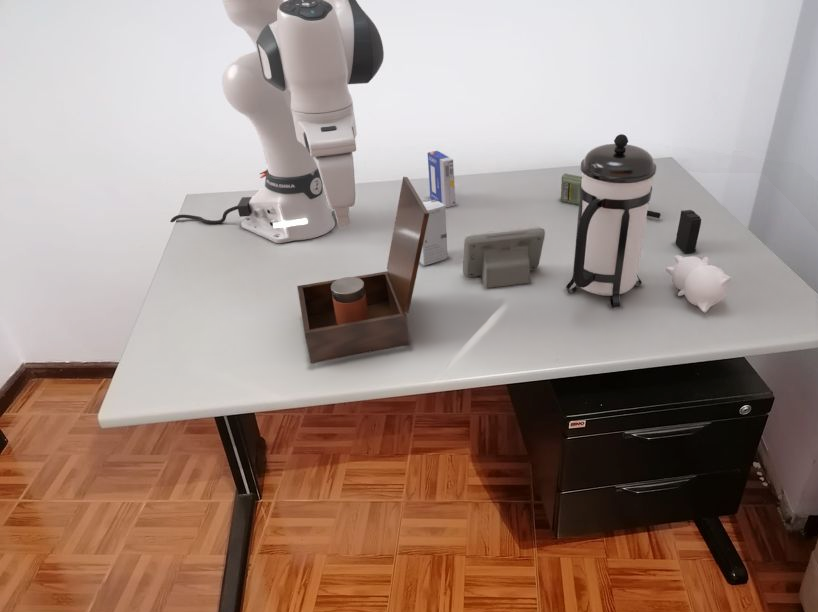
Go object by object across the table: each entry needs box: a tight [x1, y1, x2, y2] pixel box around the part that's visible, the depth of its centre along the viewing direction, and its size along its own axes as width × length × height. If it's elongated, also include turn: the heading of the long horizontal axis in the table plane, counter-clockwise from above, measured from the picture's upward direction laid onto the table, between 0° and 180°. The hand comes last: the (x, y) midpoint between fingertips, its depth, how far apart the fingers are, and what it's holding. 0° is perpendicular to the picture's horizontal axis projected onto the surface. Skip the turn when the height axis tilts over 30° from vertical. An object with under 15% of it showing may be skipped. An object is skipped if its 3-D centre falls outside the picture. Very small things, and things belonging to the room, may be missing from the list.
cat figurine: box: [665, 254, 732, 313], centre depth 119 cm, size 9×11×12 cm
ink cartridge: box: [675, 209, 702, 254], centre depth 135 cm, size 5×2×8 cm, turn 10°
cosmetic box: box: [419, 199, 449, 266], centre depth 132 cm, size 6×4×12 cm
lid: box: [386, 176, 429, 314], centre depth 107 cm, size 18×16×1 cm
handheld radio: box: [560, 173, 661, 219], centre depth 152 cm, size 7×3×25 cm
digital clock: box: [462, 226, 546, 289], centre depth 126 cm, size 16×9×11 cm, turn 89°
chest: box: [296, 270, 410, 364], centre depth 112 cm, size 17×16×7 cm
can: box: [331, 276, 369, 325], centre depth 111 cm, size 6×6×9 cm
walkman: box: [427, 150, 456, 208], centre depth 156 cm, size 8×3×12 cm, turn 32°
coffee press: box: [565, 133, 657, 308], centre depth 115 cm, size 17×16×30 cm
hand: (339, 213), depth 102 cm, fingers open, 8 cm apart
